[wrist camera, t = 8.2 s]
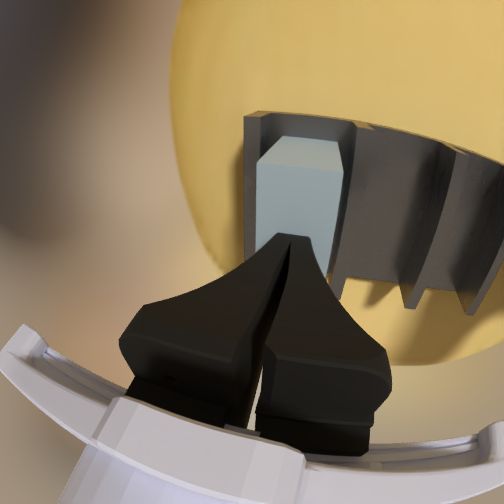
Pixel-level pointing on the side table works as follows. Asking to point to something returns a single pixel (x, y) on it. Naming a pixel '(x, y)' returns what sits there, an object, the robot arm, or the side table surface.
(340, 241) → the rack
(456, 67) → the side table surface
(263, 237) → the light grey rectangular block
